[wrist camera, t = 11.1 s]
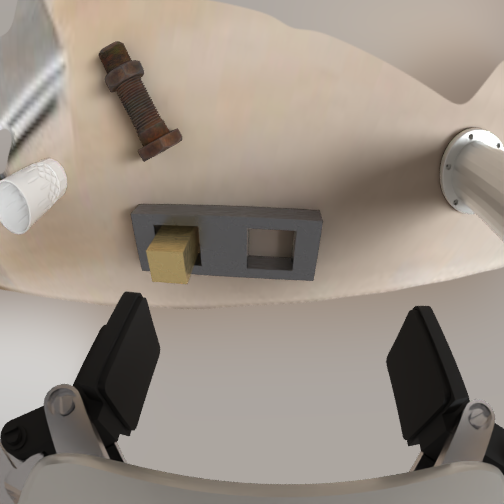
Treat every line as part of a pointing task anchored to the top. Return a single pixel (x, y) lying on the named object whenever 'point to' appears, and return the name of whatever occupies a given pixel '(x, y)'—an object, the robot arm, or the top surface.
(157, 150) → the bolt
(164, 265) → the gold block
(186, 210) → the grey peg board
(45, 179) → the white cup
